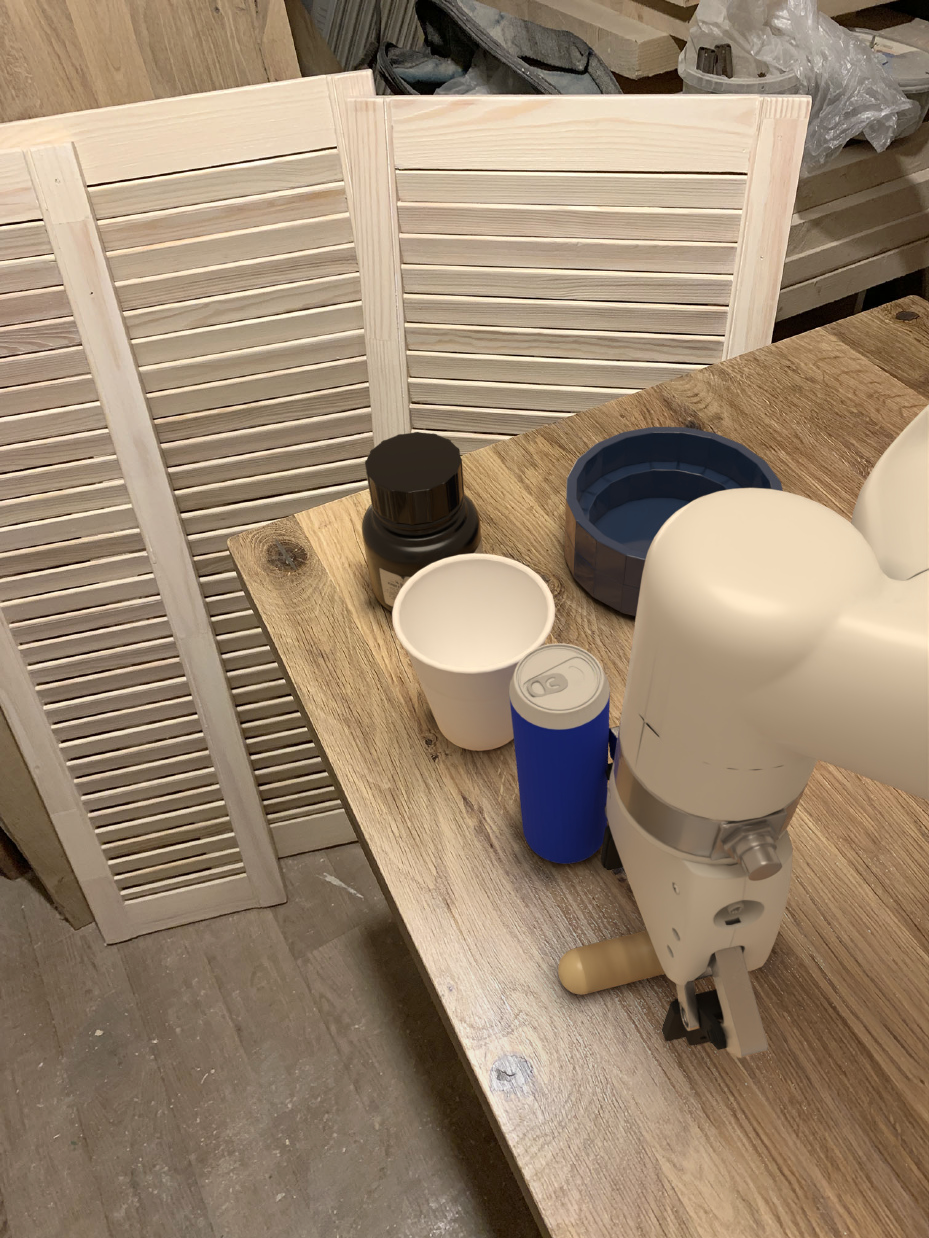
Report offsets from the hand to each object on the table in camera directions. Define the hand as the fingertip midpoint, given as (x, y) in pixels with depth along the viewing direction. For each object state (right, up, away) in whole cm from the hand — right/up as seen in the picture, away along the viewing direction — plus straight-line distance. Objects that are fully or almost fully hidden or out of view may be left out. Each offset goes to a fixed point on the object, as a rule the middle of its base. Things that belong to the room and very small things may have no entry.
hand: (657, 939), depth 50 cm
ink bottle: (-13, +20, +23) cm, 34 cm away
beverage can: (-4, +4, +7) cm, 9 cm away
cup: (-9, +11, +14) cm, 20 cm away
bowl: (+6, +23, +24) cm, 33 cm away
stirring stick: (+1, -2, +2) cm, 2 cm away
